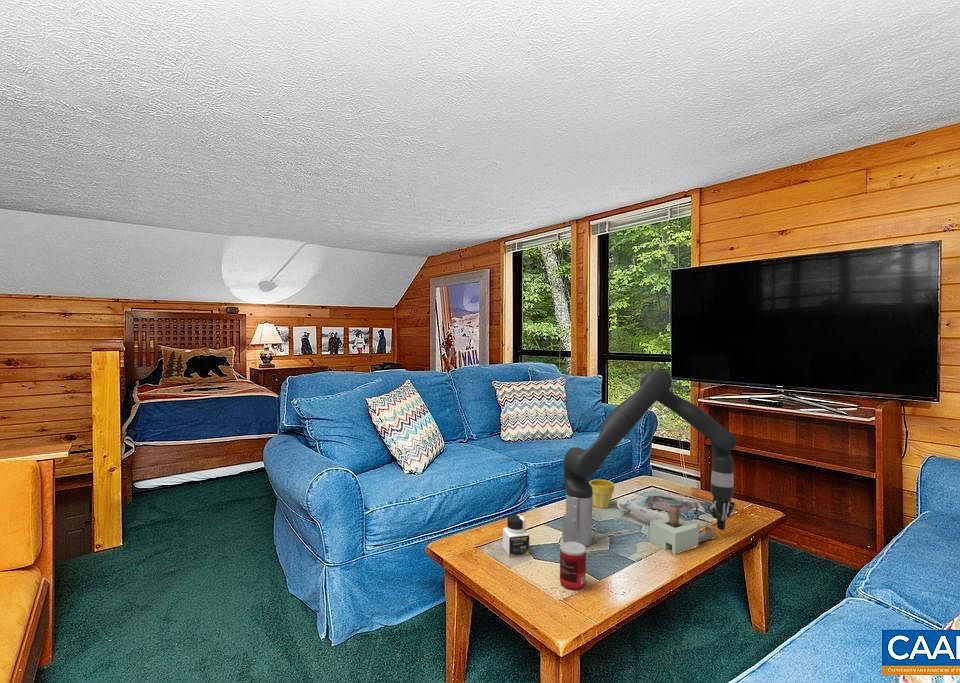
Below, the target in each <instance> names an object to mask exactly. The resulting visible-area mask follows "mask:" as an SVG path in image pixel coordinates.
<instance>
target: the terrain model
mask: <svg viewBox="0 0 960 683" xmlns="http://www.w3.org/2000/svg"><path fill="white" fill-rule="evenodd" d="M697 505H699V504H698V502H696V501H695V502H694V501H688V500H682V499H676V498H673V497H671V496H670V497H668V496H661V495H648V497H647V498H646V500H645V502H644V505H643V507H644V506H645V507H646V508H647V509H646V508H645V507H644V508H645V509H646V510H649V509H652V510H651V511H655V510H658V511H657V512H660V511H665V512H669V509H670V506H677V507H679V513H682V512H686V511H689V510H691V509H693V508H697V509H698V506H697ZM665 512H664V513H665Z"/></svg>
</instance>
